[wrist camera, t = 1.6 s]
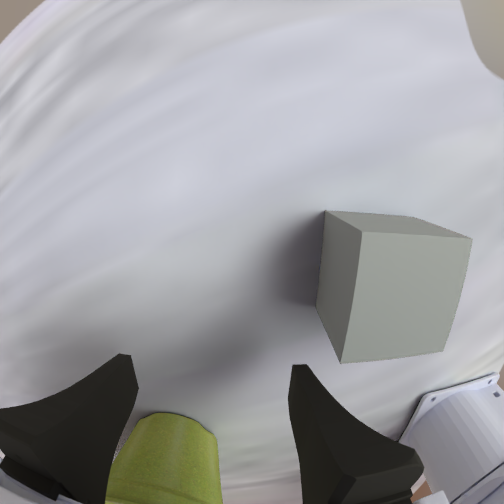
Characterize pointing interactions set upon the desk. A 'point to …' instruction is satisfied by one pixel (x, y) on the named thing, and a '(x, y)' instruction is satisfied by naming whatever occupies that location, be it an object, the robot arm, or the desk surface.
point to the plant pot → (166, 464)
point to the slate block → (388, 285)
